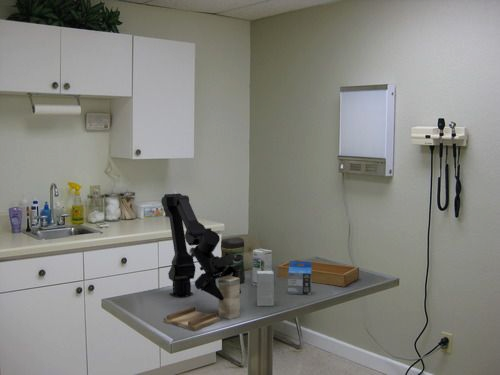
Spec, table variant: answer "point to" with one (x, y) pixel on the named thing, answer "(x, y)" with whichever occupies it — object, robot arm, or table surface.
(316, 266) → the tray
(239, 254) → the coffee jar
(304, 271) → the label tape box
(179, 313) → the slotted oak board
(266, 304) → the skincare box
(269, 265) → the syrup box
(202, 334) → the table surface
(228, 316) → the maple block
